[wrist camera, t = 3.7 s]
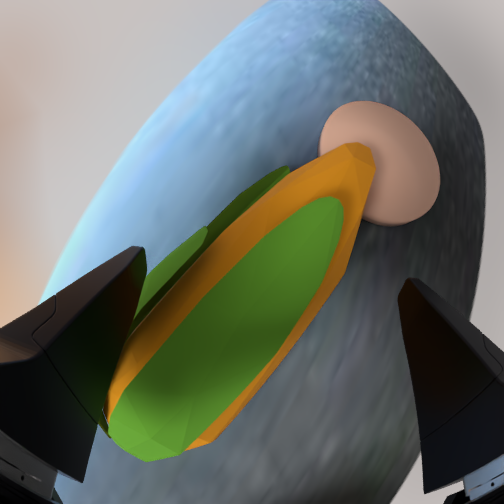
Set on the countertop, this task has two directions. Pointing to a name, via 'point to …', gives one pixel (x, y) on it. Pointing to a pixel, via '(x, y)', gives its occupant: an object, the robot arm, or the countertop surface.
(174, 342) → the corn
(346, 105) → the pink flat disc
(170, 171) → the countertop surface
